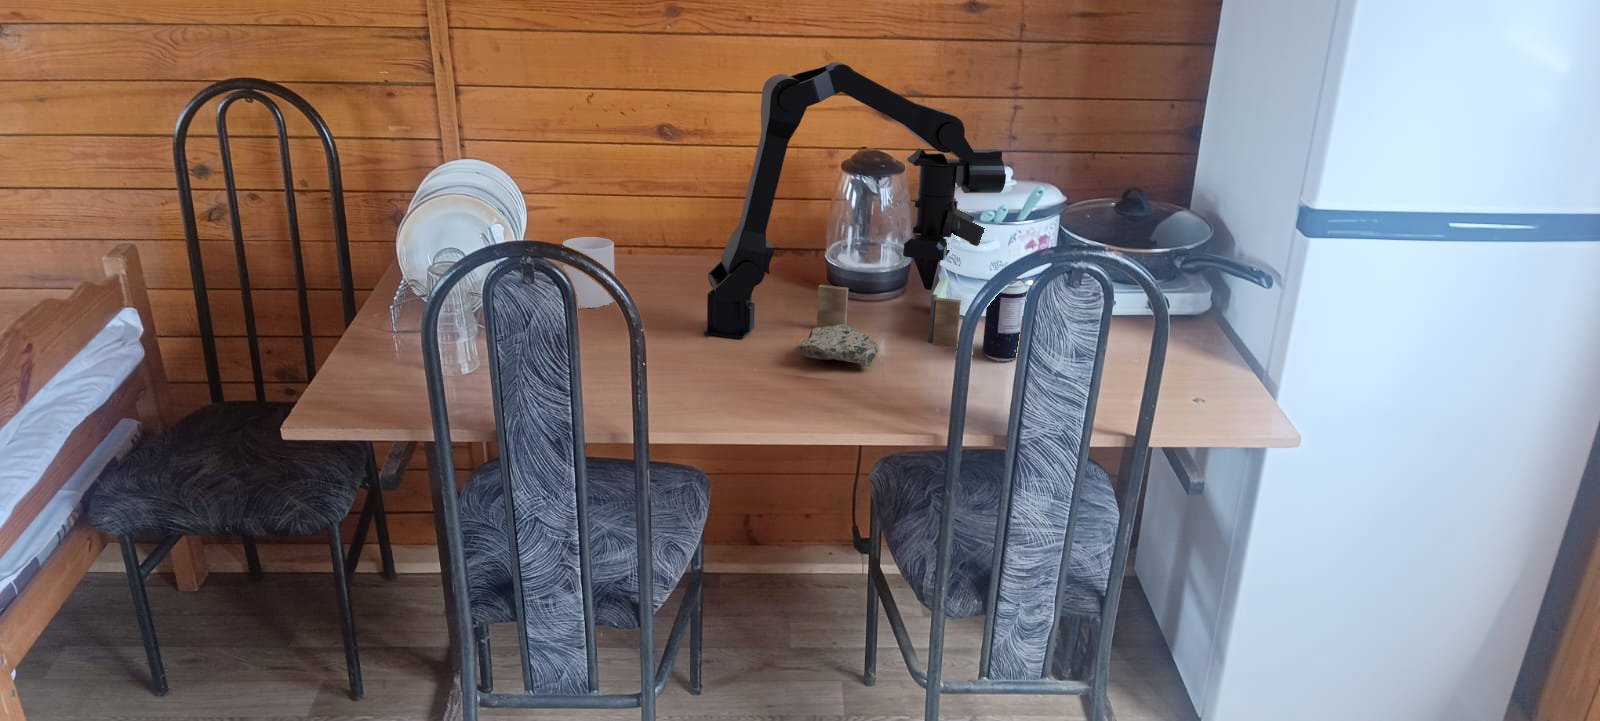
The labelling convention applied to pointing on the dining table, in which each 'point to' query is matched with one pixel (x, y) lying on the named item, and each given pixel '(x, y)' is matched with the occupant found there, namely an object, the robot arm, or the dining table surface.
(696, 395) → the dining table surface
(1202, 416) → the dining table surface
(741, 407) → the dining table surface
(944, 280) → the door
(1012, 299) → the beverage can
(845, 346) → the rock
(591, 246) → the mug
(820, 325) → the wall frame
